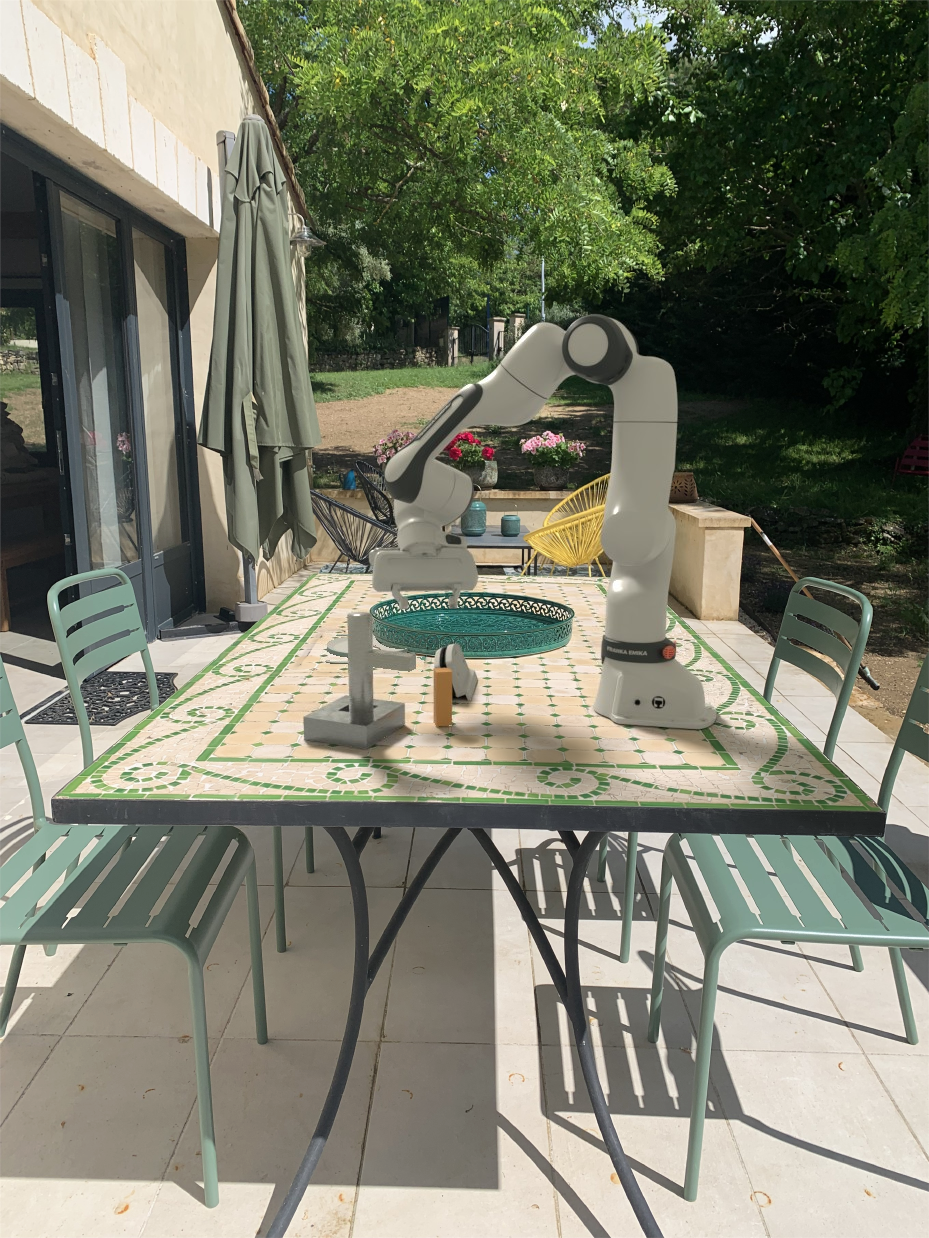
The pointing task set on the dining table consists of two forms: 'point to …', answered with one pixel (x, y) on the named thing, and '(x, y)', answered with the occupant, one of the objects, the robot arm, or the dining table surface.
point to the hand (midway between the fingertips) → (429, 607)
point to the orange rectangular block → (442, 696)
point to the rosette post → (360, 694)
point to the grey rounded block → (457, 670)
